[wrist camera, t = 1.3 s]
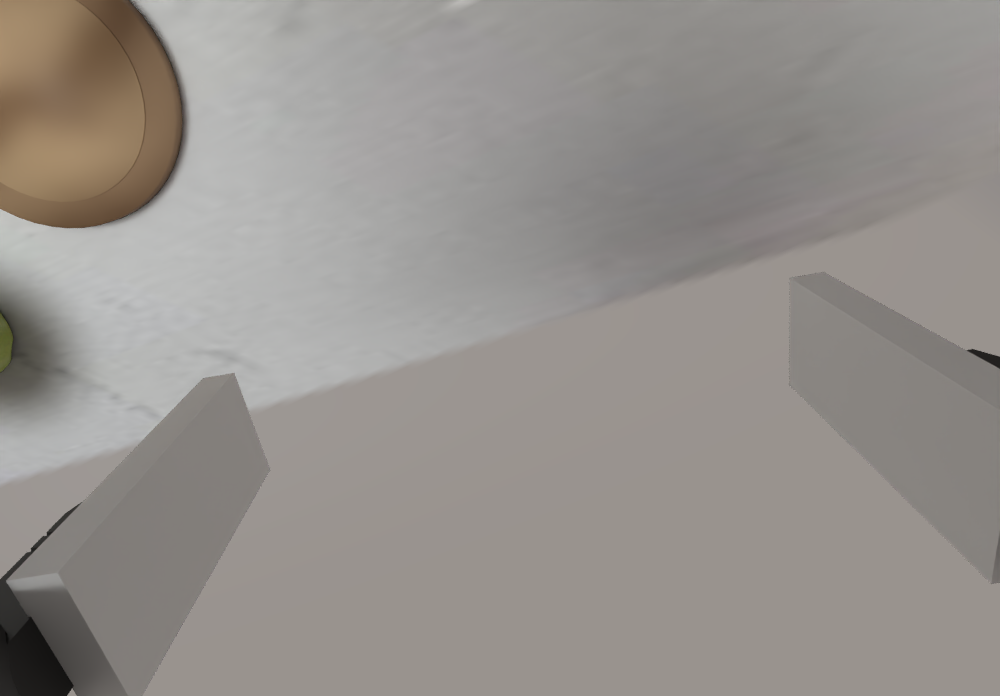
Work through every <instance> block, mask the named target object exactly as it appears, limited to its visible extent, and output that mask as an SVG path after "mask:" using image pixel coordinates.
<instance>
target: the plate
mask: <svg viewBox="0 0 1000 696" xmlns="http://www.w3.org/2000/svg"><path fill="white" fill-rule="evenodd" d="M181 138H182V108H181V99H180V94H179V89H178V84H177V81H176V78H175V75H174V72H173V69H172V66H171V64H170V62H169V59H168V57H167V55H166V53H165V50H164V48H163V47H162V45H161V43H160V41H159V40H158V38H157V36H156V35H155V33H154V31H153V30H152V28H151V27H150V26H149V24H148V23H147V22H146V20H145V19H144V17H143V16H142V15H141V14H140V12H139V11H138V10H137V9H136V8H135V7H134V6H133V5H132V4H131V3H130V1H129V0H0V209H2V210H4V211H6V212H8V213H10V214H12V215H15V216H17V217H19V218H22V219H25V220H28V221H31V222H34V223H38V224H43V225H47V226H52V227H62V228H85V227H91V226H97V225H101V224H104V223H107V222H110V221H114V220H117V219H120V218H123V217H125V216H127V215H129V214H131V213H133V212H135V211H137V210H138V209H139V208H141V207H142V206H144V205H145V204H146V203H148V202H149V201H150V200H151V199H152V198H153V197H154V196H155V195H156V194H157V193H158V192H159V191H160V189H161V188H162V186H163V185H164V184H165V182H166V181H167V179H168V177H169V175H170V173H171V172H172V170H173V168H174V165H175V162H176V159H177V156H178V153H179V148H180V143H181Z"/></svg>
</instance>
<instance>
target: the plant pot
mask: <svg viewBox="0 0 1000 696" xmlns="http://www.w3.org/2000/svg"><path fill="white" fill-rule="evenodd" d="M12 342H13V335H12V332H11V330H10V327H9V325H8V323H7V322H6V320H5V319H4V317H3V316H2V315H1V313H0V372H2V371H3V370H4V369H5V368H6V367H7V366H8V364H9V363H10V361H11V348H12Z"/></svg>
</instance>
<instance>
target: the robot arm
mask: <svg viewBox="0 0 1000 696" xmlns="http://www.w3.org/2000/svg"><path fill="white" fill-rule="evenodd" d="M789 328H790V330H789V332H790V333H789V334H790V335H789V338H790V339H789V343H790V344H789V348H790V349H789V353H790V354H789V385H790V386H791V387H792V388H793V389H794V390H795V391H796V392H797V393H798V394H799V395H800V396H801V397H802V398H803V399H804V400H805V401H806V402H807V403H808V404H809V405H810V406H811V407H812V408H813V409H814V410H815V411H816V412H817V413H818V414H819V415H820V416H821V417H822V418H823V419H824V420H825V421H826V422H827V423H828V424H829V425H830V426H831V427H832V428H833V429H834V430H836V431H837V433H838V434H839V435H840V436H842V438H843V439H845V440H846V441H847V442H848V443H849V444H850V445H851V446H852V447H853V448H854V449H855V450H856V451H857V452H858V453H859V454H860V455H861V456H862V457H863V458H864V459H865V460H866V461H867V462H868V463H869V464H870V465H871V466H872V467H873V468H874V469H875V470H876V471H877V472H878V473H879V474H880V475H881V476H882V477H883V478H884V479H885V480H886V481H887V482H888V483H889V484H890V485H891V486H892V487H893V488H894V489H895V490H896V491H897V492H898V493H899V494H900V495H901V496H902V497H904V499H905V500H906V501H907V502H908V503H909V504H910V505H912V507H913V508H914V509H916V510H917V511H918V512H919V513H920V514H921V515H922V516H923V517H924V518H925V519H926V520H927V521H928V522H929V523H930V524H931V525H932V526H933V527H934V528H935V529H936V530H937V531H938V532H939V533H940V534H941V535H942V536H943V537H944V538H945V539H946V540H947V541H948V542H949V543H950V544H951V545H952V546H953V547H954V548H955V549H956V550H957V551H958V552H959V553H960V554H961V555H962V556H963V557H964V558H965V559H966V560H967V561H968V562H969V563H970V564H971V565H972V566H973V567H974V568H975V569H976V570H978V572H979V573H980V574H982V576H983V577H984V578H986V579H987V580H988V581H989V582H990V583H991V584H994V583H1000V357H999V356H995V355H992V354H988V353H984V352H981V351H977V350H974V349H972V350H965V349H963V348H961V347H959V346H957V345H955V344H954V343H952V342H950V341H948V340H946V339H945V338H943V337H941V336H939V335H937V334H936V333H934V332H932V331H930V330H928V329H926V328H925V327H923V326H921V325H919V324H917V323H916V322H914V321H912V320H910V319H908V318H906V317H905V316H903V315H901V314H899V313H897V312H895V311H894V310H892V309H890V308H888V307H886V306H885V305H883V304H881V303H879V302H877V301H875V300H874V299H872V298H870V297H868V296H866V295H865V294H863V293H861V292H859V291H857V290H855V289H854V288H852V287H850V286H848V285H846V284H845V283H843V282H841V281H839V280H837V279H835V278H834V277H832V276H830V275H828V274H826V273H824V272H821V273H815V274H810V275H804V276H798V277H792V278H790V327H789ZM269 471H270V467H269V465H268V462H267V459H266V457H265V454H264V451H263V449H262V446H261V443H260V441H259V438H258V436H257V433H256V430H255V427H254V425H253V422H252V420H251V417H250V414H249V411H248V409H247V406H246V403H245V401H244V398H243V395H242V393H241V390H240V387H239V385H238V382H237V379H236V377H235V374H234V373H231V374H225V375H220V376H214V377H208V378H203V379H202V380H201V381H200V382H199V383H198V384H197V385H196V386H195V387H194V388H193V389H192V390H191V391H190V392H189V393H188V394H187V395H186V396H185V397H184V398H183V399H182V400H181V402H180V403H179V404H178V405H177V406H176V407H175V408H174V409H173V410H172V411H171V412H170V413H169V414H168V415H167V416H166V417H165V418H164V419H163V420H162V421H161V422H160V423H159V424H158V425H157V426H156V427H155V428H154V429H153V430H152V431H151V432H150V433H149V434H148V435H147V436H146V437H145V438H144V439H143V441H142V442H141V443H140V444H139V445H138V446H137V447H136V448H135V449H134V450H133V451H132V452H131V453H130V454H129V455H128V456H127V457H126V458H125V459H124V460H123V461H122V462H121V463H120V464H119V465H118V466H117V467H116V468H115V469H114V470H113V471H112V472H111V473H110V474H109V475H108V476H107V477H106V479H105V480H104V481H103V482H102V483H101V484H100V485H99V486H98V487H97V488H96V489H95V490H94V491H93V492H92V493H91V494H90V495H89V496H88V497H87V498H86V499H85V500H84V501H83V502H81V503H80V504H78V505H77V506H75V507H74V508H73V509H71V510H70V511H68V512H67V513H65V514H64V516H62V518H61V519H59V520H58V521H57V522H56V523H55V525H54V526H53V527H52V528H51V529H50V530H49V531H48V532H47V536H43V537H42V538H41V539H40V540H39V541H38V542H37V543H36V544H35V545H34V546H33V547H32V548H31V552H28V553H26V554H25V555H24V556H23V557H22V558H21V559H20V560H19V561H18V562H17V563H16V564H15V565H14V566H13V567H12V568H11V569H10V570H9V571H8V572H7V573H6V574H5V575H4V576H3V577H2V578H1V579H0V696H67V695H68V693H69V692H70V691H71V689H72V688H73V690H74V691H75V693H76V695H77V696H142V695H143V694H144V692H145V690H146V688H147V687H148V685H149V683H150V681H151V679H152V678H153V676H154V674H155V672H156V671H157V669H158V667H159V665H160V664H161V662H162V660H163V658H164V656H165V655H166V653H167V651H168V649H169V648H170V645H171V644H172V642H173V640H174V639H175V637H176V635H177V634H178V632H179V630H180V628H181V626H182V625H183V623H184V621H185V619H186V618H187V616H188V614H189V612H190V611H191V609H192V607H193V605H194V603H195V602H196V600H197V598H198V596H199V595H200V593H201V591H202V589H203V588H204V586H205V584H206V582H207V580H208V579H209V577H210V575H211V574H212V572H213V570H214V568H215V566H216V565H217V563H218V561H219V559H220V558H221V556H222V554H223V552H224V551H225V549H226V547H227V545H228V543H229V542H230V540H231V538H232V536H233V535H234V533H235V531H236V529H237V527H238V526H239V524H240V522H241V521H242V519H243V517H244V515H245V513H246V512H247V510H248V508H249V506H250V505H251V503H252V501H253V499H254V498H255V496H256V494H257V492H258V490H259V489H260V486H261V485H262V483H263V482H264V480H265V478H266V476H267V475H268V473H269Z"/></svg>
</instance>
